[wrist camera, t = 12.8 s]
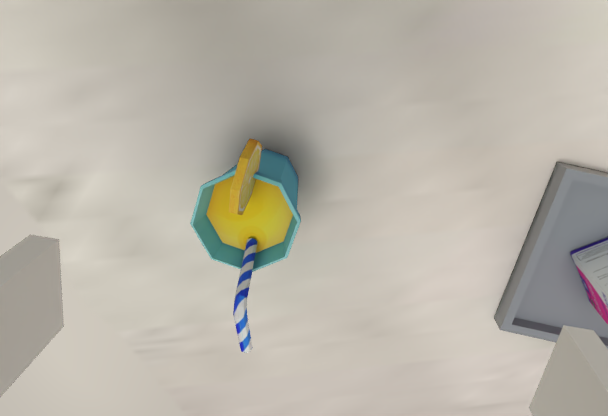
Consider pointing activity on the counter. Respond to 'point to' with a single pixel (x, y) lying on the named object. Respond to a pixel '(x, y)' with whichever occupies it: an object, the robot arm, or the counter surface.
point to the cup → (249, 220)
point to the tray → (557, 259)
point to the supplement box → (594, 273)
